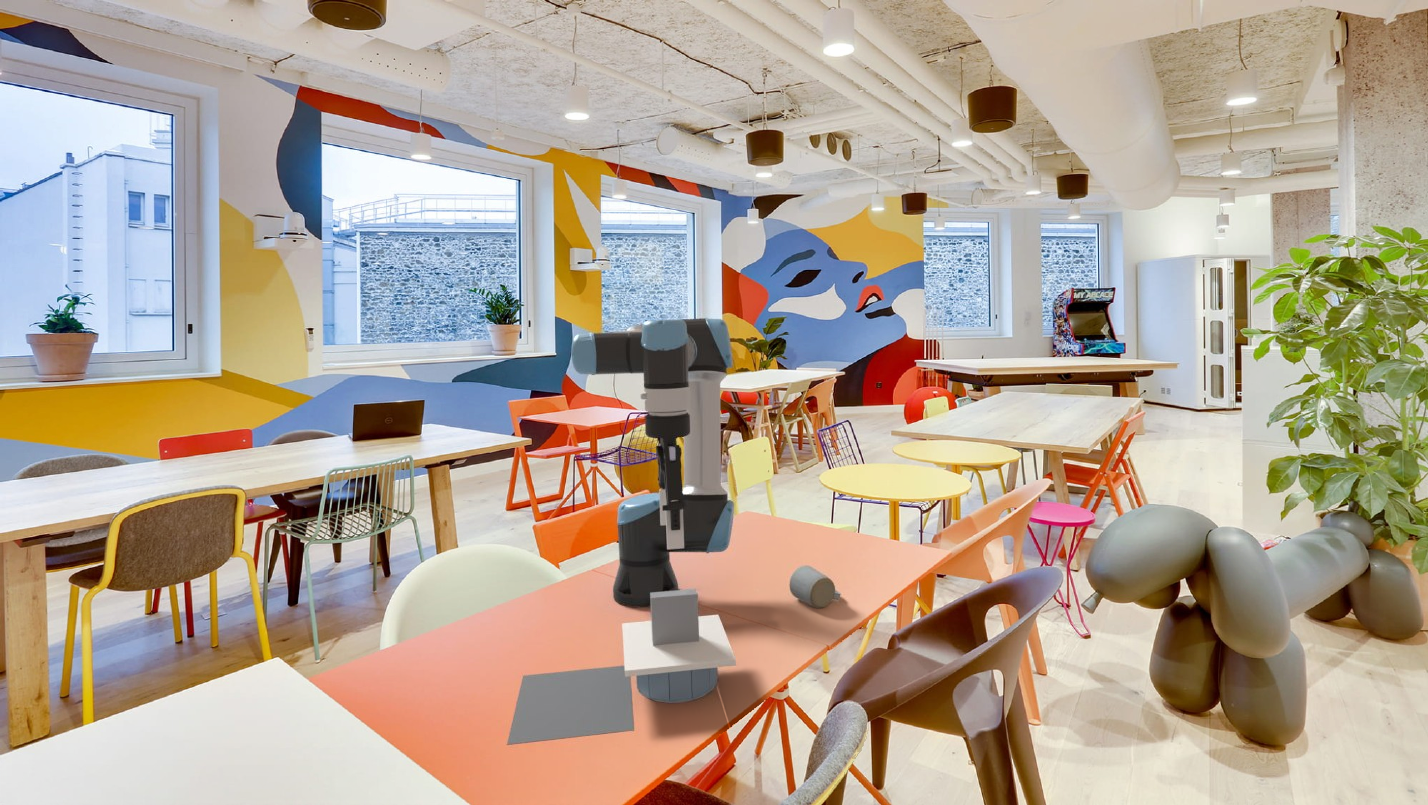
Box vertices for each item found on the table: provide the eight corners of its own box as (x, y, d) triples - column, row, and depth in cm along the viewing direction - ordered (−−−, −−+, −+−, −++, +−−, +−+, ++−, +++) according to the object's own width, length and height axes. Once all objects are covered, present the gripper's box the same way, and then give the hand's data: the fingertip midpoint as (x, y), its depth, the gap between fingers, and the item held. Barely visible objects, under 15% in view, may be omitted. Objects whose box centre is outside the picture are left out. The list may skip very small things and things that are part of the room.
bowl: (635, 668, 128) (633, 632, 127) (710, 661, 130) (709, 625, 129) (638, 710, 114) (637, 669, 113) (723, 700, 116) (721, 661, 115)
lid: (622, 628, 129) (620, 579, 128) (718, 619, 131) (717, 571, 130) (625, 676, 111) (622, 619, 110) (735, 665, 114) (734, 609, 113)
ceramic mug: (811, 613, 150) (811, 579, 149) (788, 601, 157) (788, 568, 156) (849, 603, 155) (849, 569, 154) (825, 591, 162) (825, 559, 161)
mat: (523, 678, 125) (523, 675, 125) (629, 668, 128) (629, 665, 128) (507, 748, 105) (506, 744, 105) (634, 733, 107) (634, 730, 107)
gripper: (640, 405, 128) (645, 517, 131) (649, 424, 104) (654, 561, 106) (681, 403, 129) (685, 514, 132) (699, 421, 105) (703, 557, 107)
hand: (671, 535), depth 119 cm, fingers open, 13 cm apart
